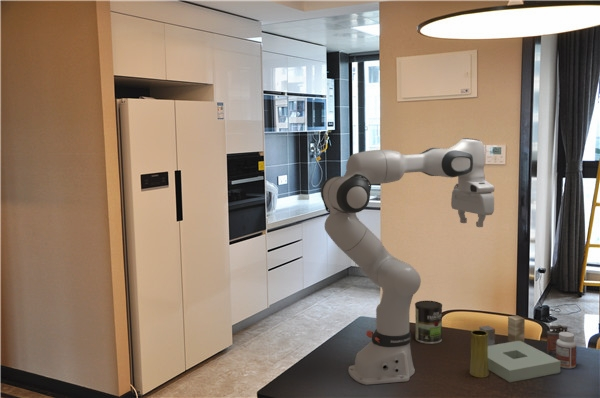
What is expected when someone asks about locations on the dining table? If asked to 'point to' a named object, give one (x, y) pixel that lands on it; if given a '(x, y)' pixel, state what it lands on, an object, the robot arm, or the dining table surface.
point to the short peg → (489, 334)
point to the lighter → (554, 337)
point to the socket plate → (520, 361)
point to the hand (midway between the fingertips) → (471, 224)
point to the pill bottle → (566, 350)
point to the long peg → (516, 328)
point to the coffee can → (428, 322)
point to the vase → (479, 354)
